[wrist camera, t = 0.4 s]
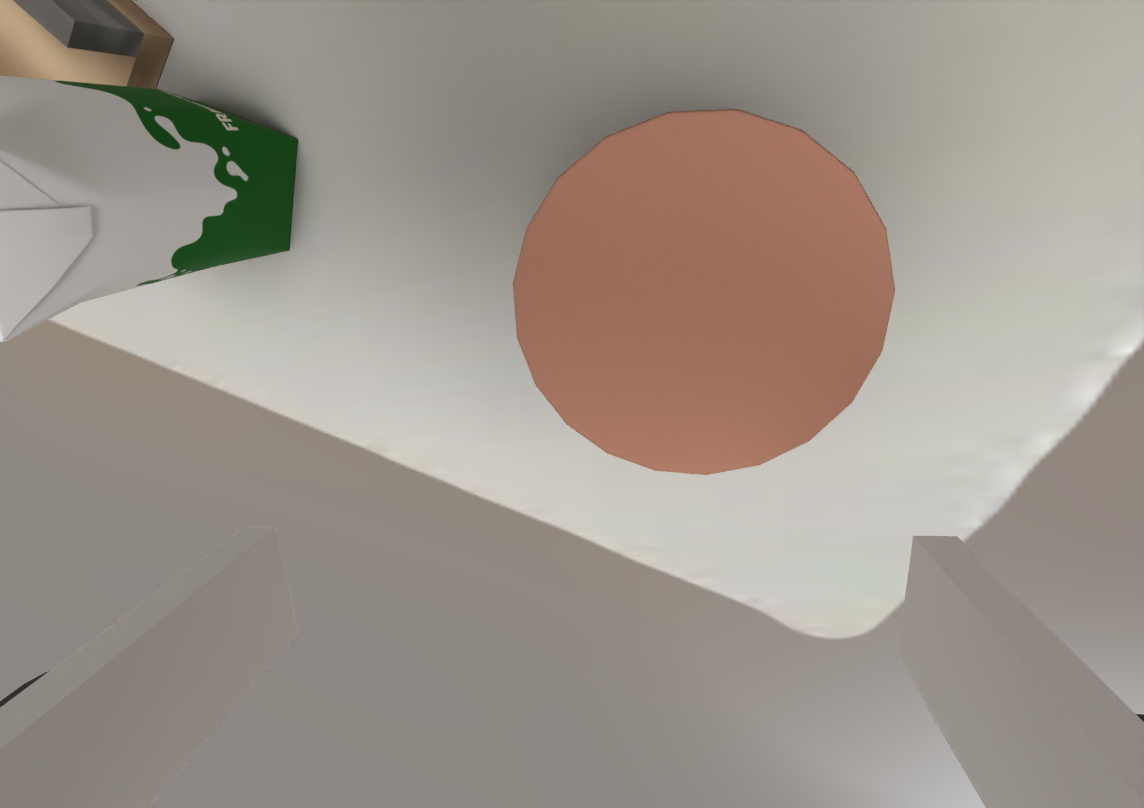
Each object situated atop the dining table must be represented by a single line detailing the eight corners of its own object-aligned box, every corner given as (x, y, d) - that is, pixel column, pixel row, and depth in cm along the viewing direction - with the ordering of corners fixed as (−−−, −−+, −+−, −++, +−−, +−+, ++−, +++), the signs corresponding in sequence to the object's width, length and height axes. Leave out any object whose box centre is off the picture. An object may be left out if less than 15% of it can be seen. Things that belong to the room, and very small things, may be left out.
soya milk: (183, 222, 39) (-254, 296, 21) (181, 76, 35) (-365, 14, 17) (301, 268, 38) (-43, 382, 21) (314, 126, 34) (-104, 115, 16)
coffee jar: (617, 328, 36) (549, 485, 20) (588, 144, 32) (471, 153, 16) (799, 306, 33) (890, 467, 17) (793, 101, 29) (906, 59, 13)
